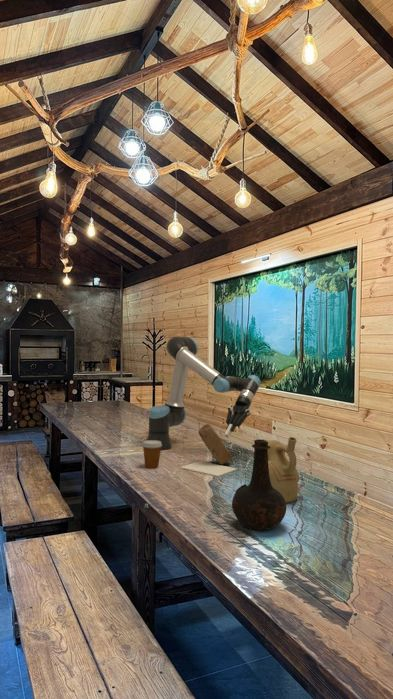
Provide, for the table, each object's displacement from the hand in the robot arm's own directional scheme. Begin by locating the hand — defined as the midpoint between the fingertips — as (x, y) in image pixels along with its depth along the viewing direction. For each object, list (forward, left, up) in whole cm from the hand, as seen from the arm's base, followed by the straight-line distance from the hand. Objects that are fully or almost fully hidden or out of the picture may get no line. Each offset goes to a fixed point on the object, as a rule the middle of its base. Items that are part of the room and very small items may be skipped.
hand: (226, 436), depth 226 cm
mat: (-1, -13, -14) cm, 20 cm away
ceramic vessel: (+44, -29, -14) cm, 55 cm away
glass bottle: (+51, -58, -14) cm, 79 cm away
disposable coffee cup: (-24, -28, -14) cm, 40 cm away
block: (-1, 0, -12) cm, 12 cm away
